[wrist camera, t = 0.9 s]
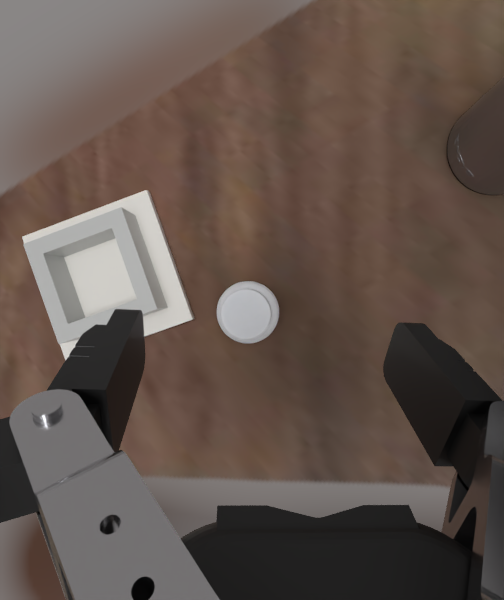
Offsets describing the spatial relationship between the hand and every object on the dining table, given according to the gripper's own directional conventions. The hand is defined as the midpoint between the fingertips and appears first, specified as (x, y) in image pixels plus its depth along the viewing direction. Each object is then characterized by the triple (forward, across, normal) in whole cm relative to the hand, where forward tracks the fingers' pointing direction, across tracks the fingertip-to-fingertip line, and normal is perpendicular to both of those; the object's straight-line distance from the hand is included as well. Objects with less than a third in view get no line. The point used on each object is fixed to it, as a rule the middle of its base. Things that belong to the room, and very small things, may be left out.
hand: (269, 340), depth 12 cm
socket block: (+27, +13, +11) cm, 32 cm away
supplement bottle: (+24, -2, +12) cm, 27 cm away
